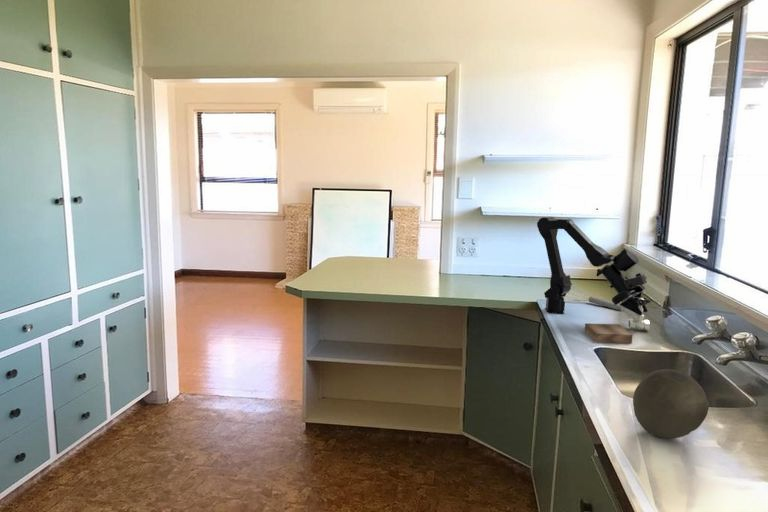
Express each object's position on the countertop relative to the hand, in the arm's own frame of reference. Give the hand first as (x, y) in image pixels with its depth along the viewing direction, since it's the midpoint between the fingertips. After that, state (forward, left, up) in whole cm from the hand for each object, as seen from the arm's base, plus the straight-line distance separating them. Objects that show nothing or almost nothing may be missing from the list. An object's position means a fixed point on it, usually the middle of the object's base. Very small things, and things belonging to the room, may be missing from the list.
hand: (644, 313), depth 195 cm
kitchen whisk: (-6, +40, -7) cm, 41 cm away
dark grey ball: (-29, -80, -7) cm, 86 cm away
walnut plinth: (-16, -9, -7) cm, 20 cm away
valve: (-1, +1, -7) cm, 7 cm away
